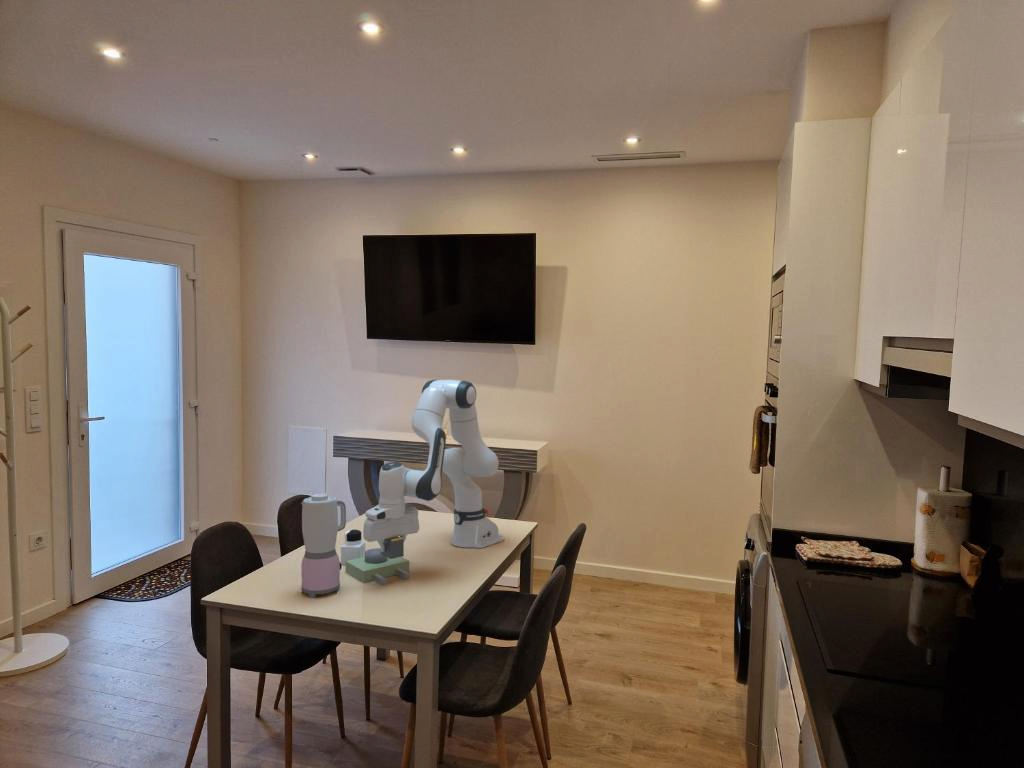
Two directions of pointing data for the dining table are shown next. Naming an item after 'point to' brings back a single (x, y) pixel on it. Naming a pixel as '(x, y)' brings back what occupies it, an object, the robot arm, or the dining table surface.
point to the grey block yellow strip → (394, 547)
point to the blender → (321, 544)
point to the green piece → (377, 567)
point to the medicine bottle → (352, 546)
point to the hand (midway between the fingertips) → (392, 549)
